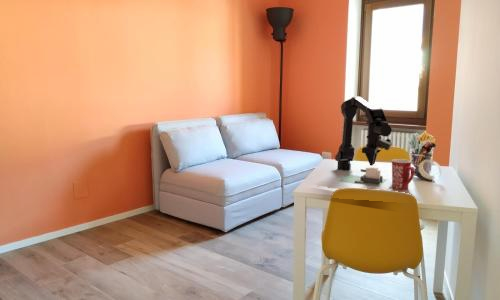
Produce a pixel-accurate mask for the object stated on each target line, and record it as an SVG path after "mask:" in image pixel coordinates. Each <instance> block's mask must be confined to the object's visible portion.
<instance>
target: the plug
mask: <svg viewBox="0 0 500 300" xmlns="http://www.w3.org/2000/svg"><path fill="white" fill-rule="evenodd" d="M360 172H361V173H362V172H363V173H365V174H366V177H368V178H376V179H378V178H380V176H381V172H382V171H381V169H379V167H375V166H367V167H366V168H365V169H361V168H360Z"/></svg>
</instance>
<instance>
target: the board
mask: <svg viewBox="0 0 500 300" xmlns="http://www.w3.org/2000/svg"><path fill="white" fill-rule="evenodd" d="M361 176H362V175H354V174H346V175H344V176H343V177H341V178H340V179H338V180H337V182H341V183H349V184H356V185H363V186H370V187H378V188H380V187H381V186H382V185H384V183H386V182H387V181H388V179H387V178H383V180H382V182H380V184H373V183H365V182H364V181H362V180H360V179H361Z"/></svg>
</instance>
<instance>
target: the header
mask: <svg viewBox="0 0 500 300" xmlns="http://www.w3.org/2000/svg"><path fill="white" fill-rule="evenodd" d="M360 176H361V179H360V180H362V181H364V182H365V183H373V184H380V182H382V180H383V179H384V178H383V177H384V176H383V175H380V178H378V179H376V178H368V177H366V173H364V174H362V175H360Z"/></svg>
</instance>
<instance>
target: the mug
mask: <svg viewBox="0 0 500 300" xmlns="http://www.w3.org/2000/svg"><path fill="white" fill-rule="evenodd" d="M411 164H412V160H409V159H404V158H403V159H402V158H400V159H399V158H397V159H396V158H394V159H391V180H392V181H391V186H392V187H391V188H392V189H394V190H399V191H404V190H409V184H410V183H411V182H412V180H413V178H414V176H415V175H414V174H415V170H414V167H413V166H412V165H411Z"/></svg>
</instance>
